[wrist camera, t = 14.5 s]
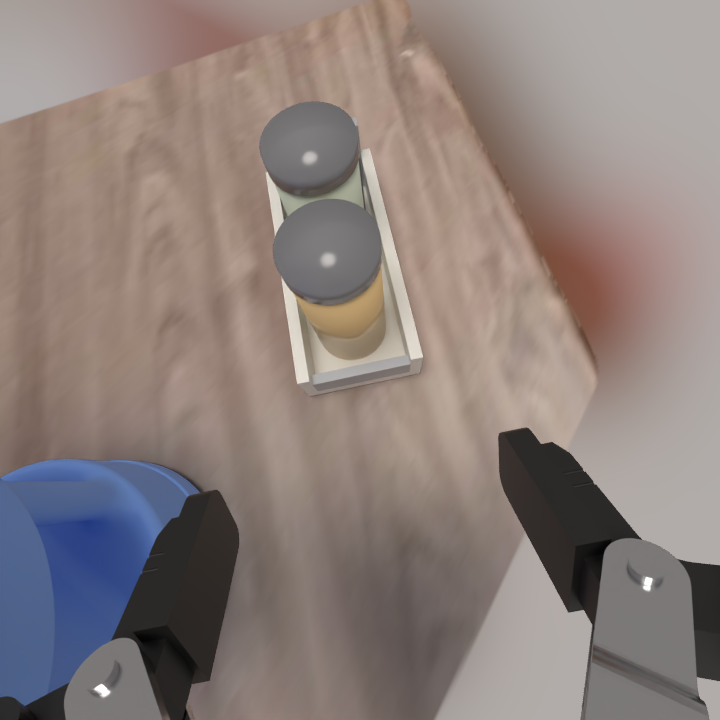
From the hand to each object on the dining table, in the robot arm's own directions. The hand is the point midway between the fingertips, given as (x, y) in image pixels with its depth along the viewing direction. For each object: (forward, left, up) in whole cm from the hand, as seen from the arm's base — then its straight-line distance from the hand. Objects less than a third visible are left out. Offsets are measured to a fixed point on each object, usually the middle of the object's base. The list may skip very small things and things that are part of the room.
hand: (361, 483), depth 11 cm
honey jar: (-4, +11, -16) cm, 20 cm away
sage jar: (-6, +17, -16) cm, 24 cm away
